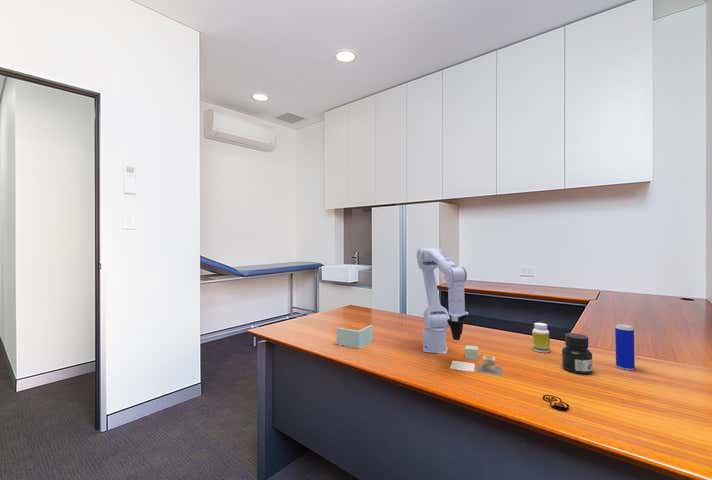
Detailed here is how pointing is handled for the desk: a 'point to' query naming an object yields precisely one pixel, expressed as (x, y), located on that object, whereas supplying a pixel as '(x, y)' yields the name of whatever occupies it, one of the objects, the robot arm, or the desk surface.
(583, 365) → the ink bottle
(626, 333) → the beverage can
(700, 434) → the desk surface
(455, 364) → the off-white mat
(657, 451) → the desk surface
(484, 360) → the grey cube
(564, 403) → the corroded twin loop
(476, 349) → the sage green cube
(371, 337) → the right angle wall
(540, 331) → the pill bottle
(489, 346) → the desk surface
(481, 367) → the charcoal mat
